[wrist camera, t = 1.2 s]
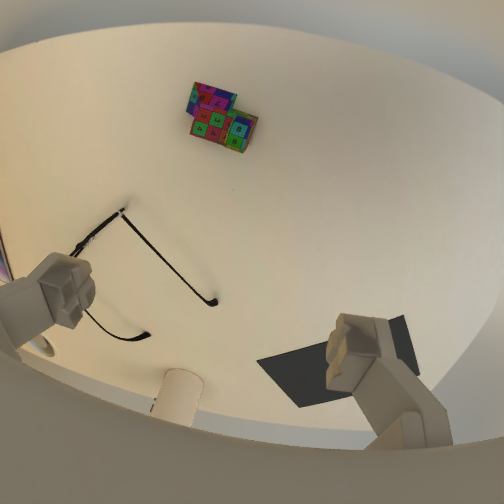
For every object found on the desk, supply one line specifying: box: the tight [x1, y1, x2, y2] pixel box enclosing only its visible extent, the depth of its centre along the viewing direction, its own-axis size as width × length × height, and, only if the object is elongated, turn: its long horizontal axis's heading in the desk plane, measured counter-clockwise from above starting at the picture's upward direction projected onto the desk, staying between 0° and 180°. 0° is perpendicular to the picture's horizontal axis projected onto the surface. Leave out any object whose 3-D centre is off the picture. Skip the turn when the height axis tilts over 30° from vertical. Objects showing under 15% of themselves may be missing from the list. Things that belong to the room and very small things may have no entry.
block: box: [186, 82, 258, 153], centre depth 23 cm, size 6×4×3 cm
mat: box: [257, 315, 420, 408], centre depth 40 cm, size 20×14×1 cm
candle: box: [150, 369, 204, 428], centre depth 40 cm, size 6×6×15 cm
